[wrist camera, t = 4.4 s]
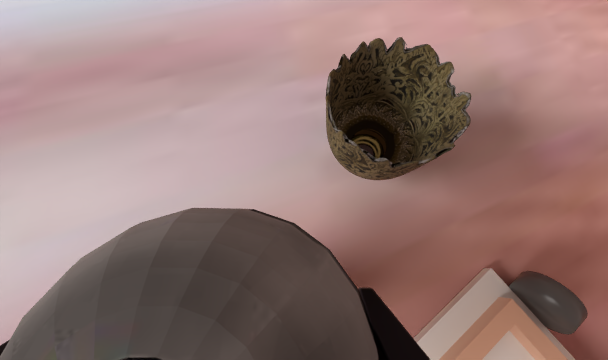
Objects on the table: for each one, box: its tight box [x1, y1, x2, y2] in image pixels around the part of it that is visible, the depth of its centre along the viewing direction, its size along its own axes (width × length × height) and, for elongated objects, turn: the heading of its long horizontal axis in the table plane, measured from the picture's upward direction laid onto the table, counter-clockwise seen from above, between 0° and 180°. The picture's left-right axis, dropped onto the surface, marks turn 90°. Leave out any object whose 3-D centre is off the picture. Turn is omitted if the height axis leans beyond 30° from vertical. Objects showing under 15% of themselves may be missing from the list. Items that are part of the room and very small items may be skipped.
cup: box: [326, 37, 471, 180], centre depth 19 cm, size 8×7×8 cm
